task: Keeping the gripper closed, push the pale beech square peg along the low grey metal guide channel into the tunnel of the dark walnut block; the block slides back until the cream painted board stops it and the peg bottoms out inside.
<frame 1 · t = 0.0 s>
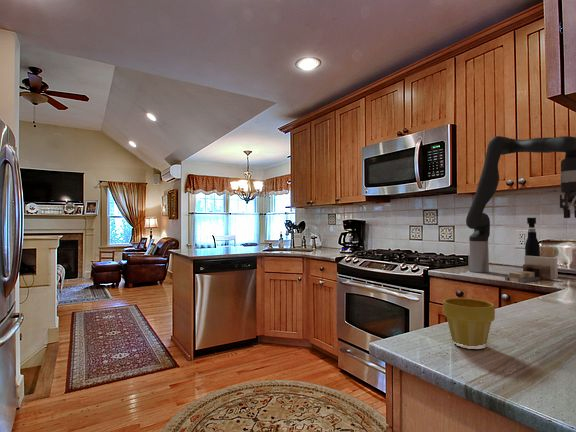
hand: (572, 218, 149), 29 cm above the worktop, tool pointing down, fingers open, 8 cm apart
plant pot: (469, 345, 77), on the worktop
backstop board: (540, 276, 170), on the worktop
guide rails: (522, 280, 160), on the worktop
peg: (522, 280, 160), on the worktop
block: (536, 271, 165), point 3 cm above the worktop, slide at 0.0 cm
wine bottle: (533, 274, 178), on the worktop
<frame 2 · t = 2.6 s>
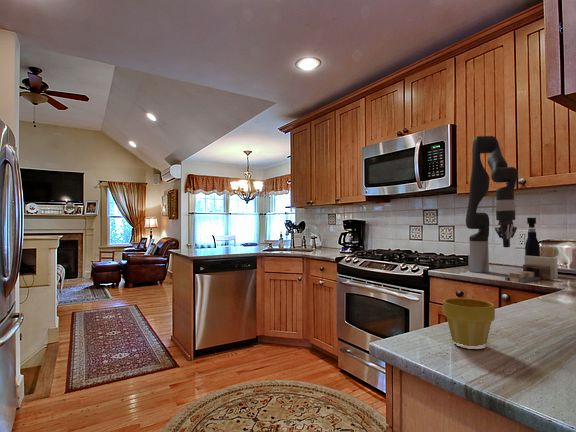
hand: (506, 247, 156), 16 cm above the worktop, tool pointing down, fingers closed
nothing on the worktop moved.
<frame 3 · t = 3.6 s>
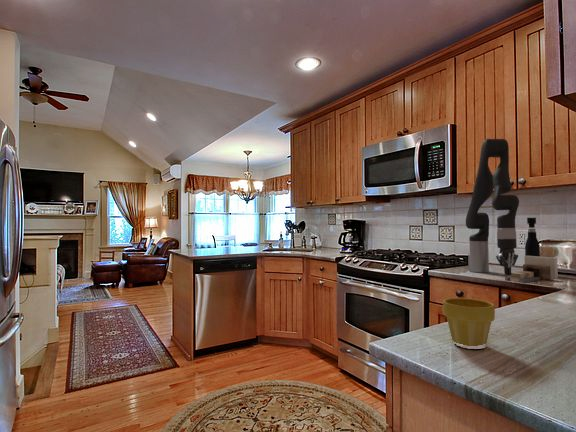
hand: (507, 275, 155), 3 cm above the worktop, tool pointing down, fingers closed
nothing on the worktop moved.
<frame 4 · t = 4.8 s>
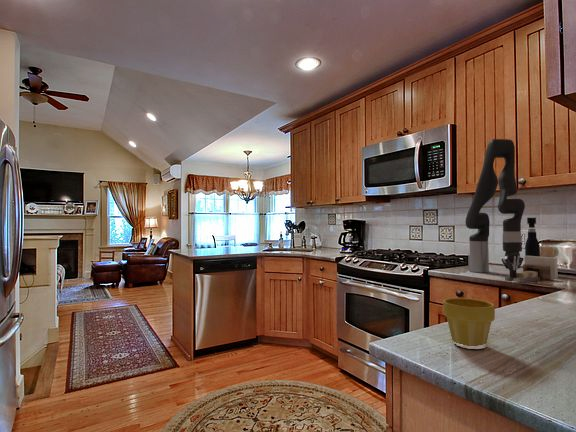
hand: (513, 278, 158), 2 cm above the worktop, tool pointing down, fingers closed
peg: (525, 280, 160), on the worktop, touching gripper, guide rails
everything else where it was.
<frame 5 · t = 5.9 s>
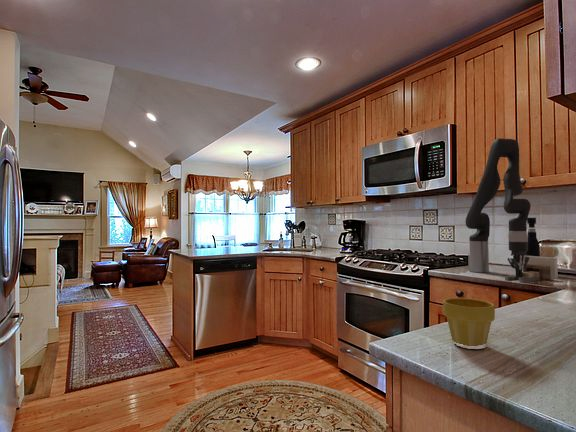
hand: (519, 277, 159), 2 cm above the worktop, tool pointing down, fingers closed
peg: (530, 280, 162), on the worktop
everything else where it was.
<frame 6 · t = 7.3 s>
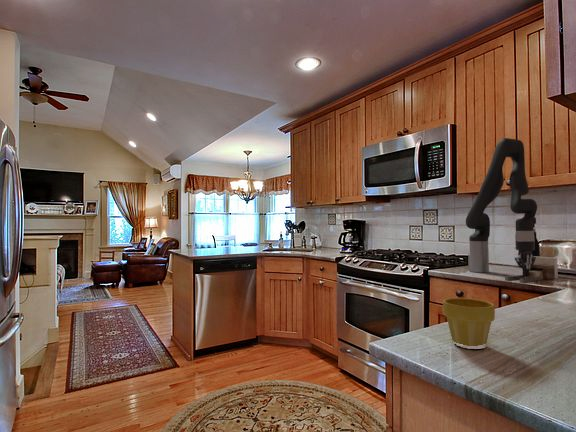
hand: (526, 276, 161), 2 cm above the worktop, tool pointing down, fingers closed
peg: (537, 279, 164), on the worktop
block: (540, 271, 166), point 3 cm above the worktop, slide at 3.0 cm, touching backstop board
everything else where it was.
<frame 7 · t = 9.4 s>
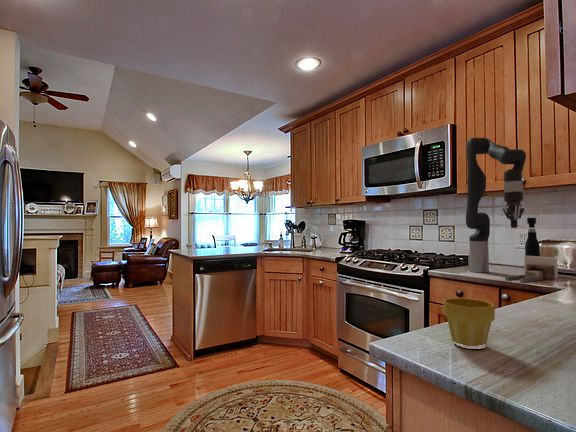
hand: (514, 227, 159), 25 cm above the worktop, tool pointing down, fingers closed
nothing on the worktop moved.
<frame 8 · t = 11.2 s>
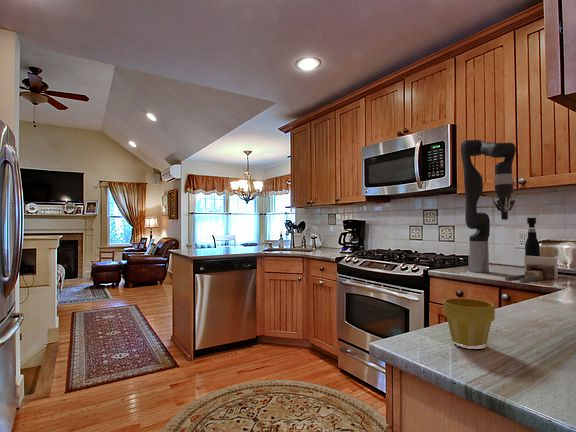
hand: (504, 219, 162), 29 cm above the worktop, tool pointing down, fingers closed
nothing on the worktop moved.
at the end: block slide at 3.0 cm; peg 0.8 cm off-centre on the block, point 0.0 cm above the block's base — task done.
